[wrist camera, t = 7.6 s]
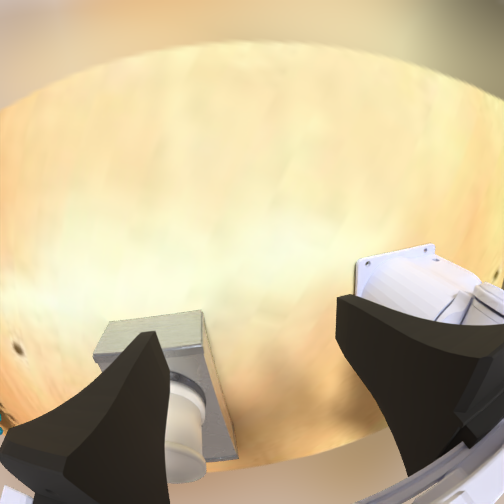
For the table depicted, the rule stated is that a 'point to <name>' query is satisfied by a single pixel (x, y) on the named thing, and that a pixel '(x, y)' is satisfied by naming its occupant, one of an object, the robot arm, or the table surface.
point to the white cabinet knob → (184, 435)
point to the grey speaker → (181, 369)
